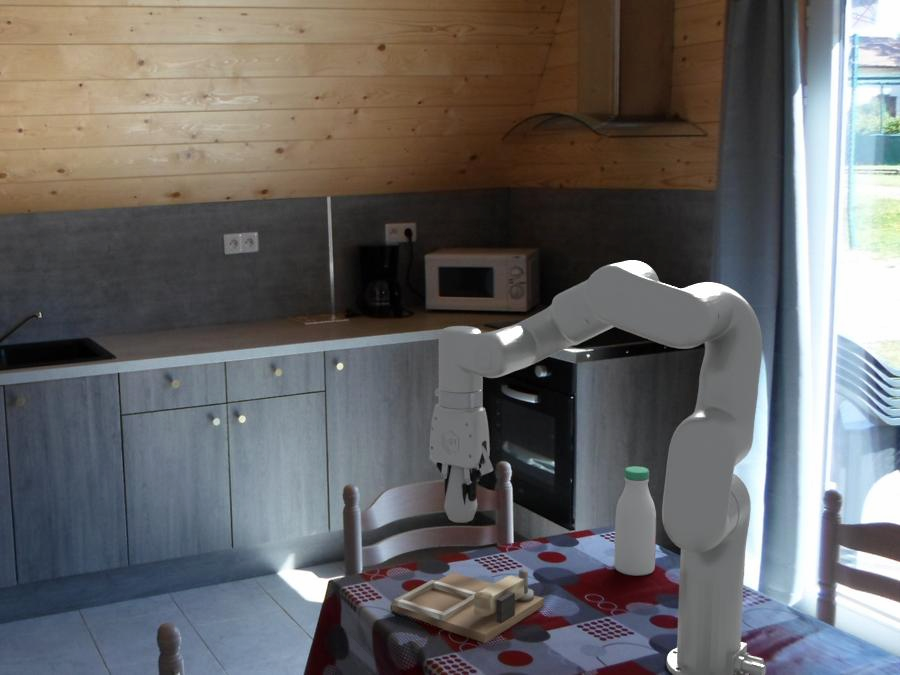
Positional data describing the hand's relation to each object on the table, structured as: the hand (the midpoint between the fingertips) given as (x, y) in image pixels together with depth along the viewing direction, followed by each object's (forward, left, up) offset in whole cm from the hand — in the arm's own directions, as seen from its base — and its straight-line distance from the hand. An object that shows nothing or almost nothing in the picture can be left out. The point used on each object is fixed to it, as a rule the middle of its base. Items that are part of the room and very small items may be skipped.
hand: (460, 501), depth 184 cm
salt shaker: (0, 0, -3) cm, 3 cm away
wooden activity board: (-1, 0, -20) cm, 20 cm away
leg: (-8, +1, -17) cm, 19 cm away
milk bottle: (-16, -34, -20) cm, 43 cm away
